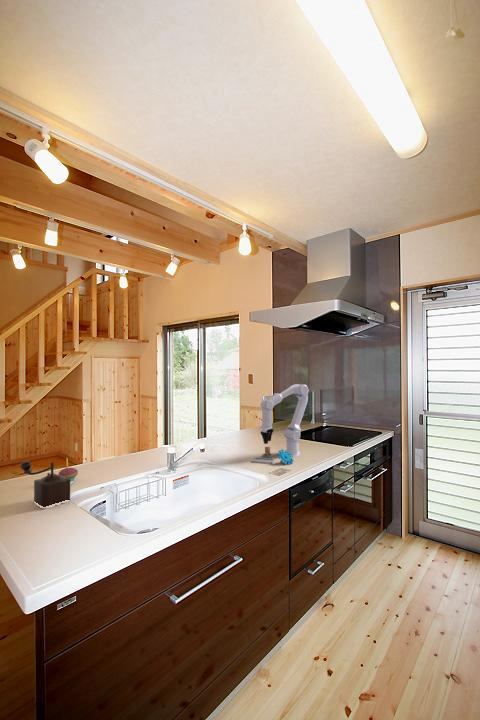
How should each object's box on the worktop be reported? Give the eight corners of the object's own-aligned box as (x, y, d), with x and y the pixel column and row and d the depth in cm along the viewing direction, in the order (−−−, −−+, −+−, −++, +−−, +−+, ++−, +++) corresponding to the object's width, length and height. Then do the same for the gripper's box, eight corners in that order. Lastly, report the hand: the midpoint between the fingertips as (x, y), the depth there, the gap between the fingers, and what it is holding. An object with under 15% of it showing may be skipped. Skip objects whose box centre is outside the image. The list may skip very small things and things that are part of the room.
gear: (283, 464, 186) (276, 448, 193) (277, 470, 189) (271, 454, 196) (298, 463, 192) (291, 448, 199) (292, 469, 195) (285, 454, 202)
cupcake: (55, 483, 163) (55, 458, 164) (73, 478, 170) (73, 454, 170) (62, 487, 158) (62, 461, 158) (81, 482, 164) (81, 457, 164)
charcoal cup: (263, 456, 209) (263, 453, 209) (273, 457, 207) (273, 453, 207) (261, 458, 203) (261, 455, 203) (271, 459, 201) (271, 456, 201)
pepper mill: (59, 495, 148) (59, 453, 148) (71, 501, 141) (71, 457, 141) (18, 507, 136) (18, 461, 136) (29, 514, 129) (29, 466, 129)
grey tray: (255, 459, 203) (255, 457, 203) (274, 460, 199) (274, 458, 199) (251, 462, 195) (251, 460, 195) (271, 464, 191) (271, 462, 191)
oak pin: (265, 456, 207) (265, 446, 207) (270, 456, 206) (270, 446, 206) (264, 457, 204) (264, 447, 204) (269, 458, 203) (269, 447, 203)
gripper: (263, 417, 214) (263, 439, 213) (257, 421, 200) (257, 444, 200) (274, 418, 212) (274, 440, 211) (269, 421, 198) (269, 445, 197)
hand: (267, 442), depth 205 cm, fingers open, 7 cm apart
